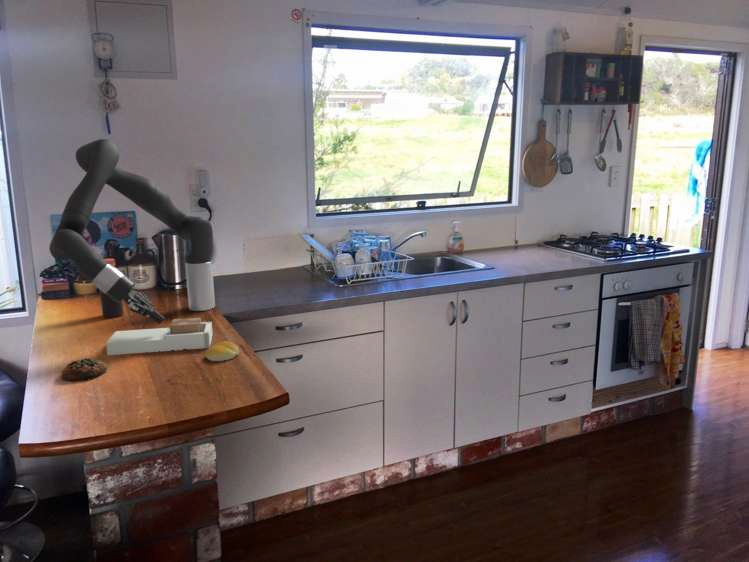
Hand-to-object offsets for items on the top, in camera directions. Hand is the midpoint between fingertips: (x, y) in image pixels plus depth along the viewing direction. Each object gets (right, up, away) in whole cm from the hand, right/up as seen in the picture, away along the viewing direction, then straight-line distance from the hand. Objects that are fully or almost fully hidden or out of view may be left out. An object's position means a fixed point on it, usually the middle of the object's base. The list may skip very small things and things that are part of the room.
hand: (162, 321), depth 182 cm
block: (+3, -4, +1) cm, 5 cm away
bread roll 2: (+20, -10, -9) cm, 24 cm away
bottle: (-29, -1, +35) cm, 45 cm away
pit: (+7, -7, +3) cm, 10 cm away
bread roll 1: (-13, -13, -21) cm, 28 cm away
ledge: (-6, -8, 0) cm, 10 cm away
